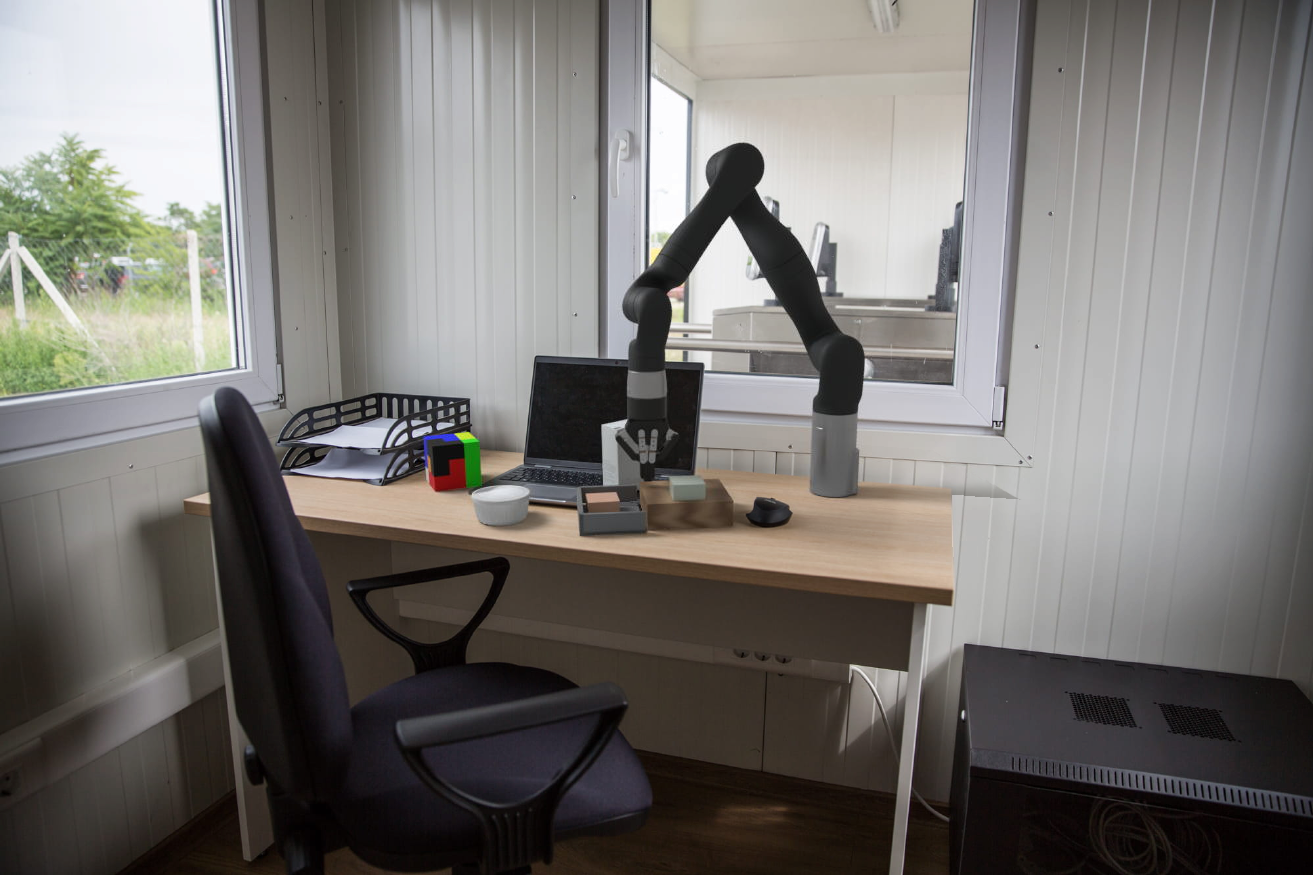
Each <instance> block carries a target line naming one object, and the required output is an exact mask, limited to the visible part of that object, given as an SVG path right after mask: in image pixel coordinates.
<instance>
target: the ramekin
mask: <svg viewBox="0 0 1313 875" xmlns="http://www.w3.org/2000/svg"><path fill="white" fill-rule="evenodd" d="M530 498H531V491H530V489H529V488H526V487H524V486H519V485H511V484H509V485H508V484H507V485H505V484H503V485H492V486H486V487H481V488H479V489H477V490H475V491H473V492H472V493H471V501H472V503H473V507H474V513H475V517H476V519H477V520H478V521H479V522H480V523H481V522H482V523H481V524H484V525H486V524H488V525H487V526H493V525H495V527H496V526H497V527H498V526H499V527H500V526H502V527H503V526H510V525H516V524H518V523H520V522H523V521H524V520H525V519H526V518H527V516H528V512H529V506H530Z"/></svg>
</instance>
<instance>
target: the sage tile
mask: <svg viewBox="0 0 1313 875" xmlns="http://www.w3.org/2000/svg"><path fill="white" fill-rule="evenodd" d="M668 479H669V480H668V481H669V492H670V494H671V496H672V499H673V501H681V500H705V497H706V484H705V482H704V480H703V479H704V478H702V475H699V474H698V475H697V474H696V475H670V476H669V477H668Z"/></svg>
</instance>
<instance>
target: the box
mask: <svg viewBox="0 0 1313 875" xmlns="http://www.w3.org/2000/svg"><path fill="white" fill-rule="evenodd" d="M608 492H616V493H617V496H618V498H619V500H620V502H630V501H637V502H638V492H637V484H633V485H606V486H603V485H584V486H583V485H581V486H576V507H577V519H578V520H577V521H578V532H579V533H578V534H579V536H580V537H583V536H584V537H585V536H586V537H587V536H607V535H610V536H612V535H633V534H646V531H647V530H646V529H647V527H646V512H645V511H641V509H640V507H639V506H640V505H639V504H629V505H638V506H625V507H620V512H603V513H587V510H586V505H583V504H582V503H586V494H589V493H608ZM631 503H633V502H631ZM625 505H626V504H625Z"/></svg>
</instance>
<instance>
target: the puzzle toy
mask: <svg viewBox="0 0 1313 875" xmlns="http://www.w3.org/2000/svg"><path fill="white" fill-rule="evenodd" d="M480 442H481V441H479V440H478V439H477V438H476V437H475V436H474V435H473V434H471V432H469V431H465V432H457V433H446V434H436V435H427V436H423V452H424V465H425V476H426V477H425V478H426V481H427V482H428V484H429V486H430V487H431V489H432V490H433V491H434V493H437V492H438V493H439V492H444V491H452V490H453V491H454V490H461V489H470V488H477V487H478V488H479V487H482V486H483V484H482V464H481V445H480Z"/></svg>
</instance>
